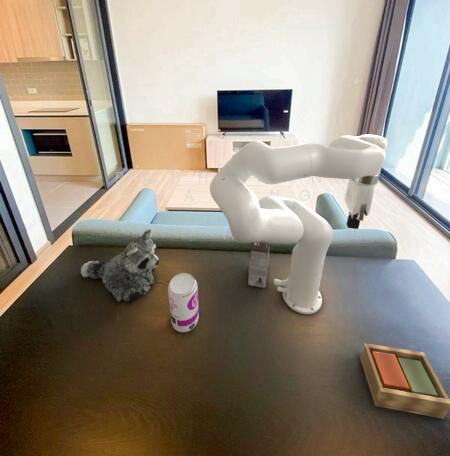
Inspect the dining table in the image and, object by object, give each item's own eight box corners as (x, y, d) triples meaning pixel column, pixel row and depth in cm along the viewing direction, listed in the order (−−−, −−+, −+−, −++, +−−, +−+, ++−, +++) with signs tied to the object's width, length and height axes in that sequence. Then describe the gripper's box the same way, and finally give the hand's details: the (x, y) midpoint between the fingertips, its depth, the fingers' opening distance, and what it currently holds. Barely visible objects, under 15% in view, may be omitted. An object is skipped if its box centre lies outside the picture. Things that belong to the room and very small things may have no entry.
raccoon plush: (158, 305, 78) (152, 253, 71) (62, 302, 79) (45, 251, 71) (169, 267, 93) (165, 221, 85) (87, 266, 93) (76, 219, 86)
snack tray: (375, 405, 56) (380, 391, 54) (359, 357, 65) (363, 343, 63) (443, 418, 54) (452, 404, 52) (417, 366, 63) (423, 352, 61)
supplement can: (203, 313, 76) (202, 277, 70) (189, 338, 69) (186, 300, 63) (181, 303, 79) (178, 267, 74) (165, 326, 72) (161, 289, 67)
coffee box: (250, 265, 94) (252, 231, 88) (267, 268, 93) (270, 233, 87) (247, 285, 85) (249, 249, 80) (266, 288, 84) (269, 251, 78)
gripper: (344, 165, 81) (335, 212, 87) (357, 186, 67) (345, 240, 73) (369, 167, 79) (358, 215, 86) (387, 189, 65) (372, 244, 72)
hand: (352, 226), depth 79 cm, fingers closed
